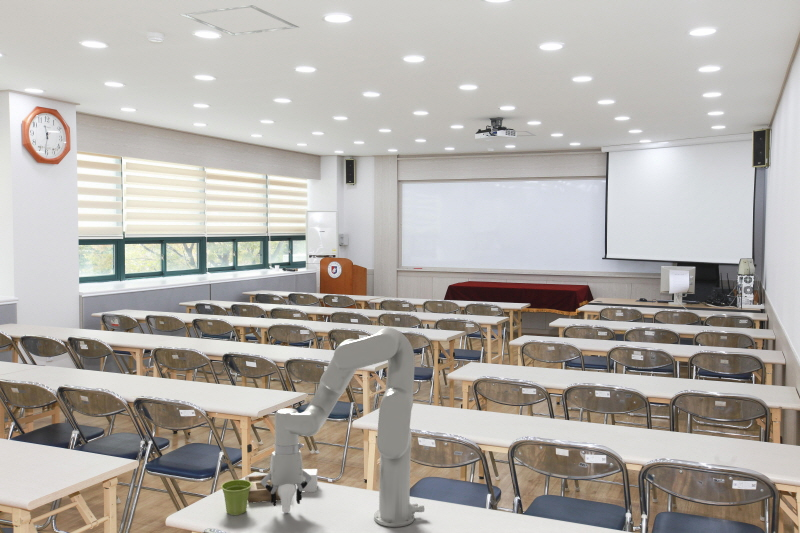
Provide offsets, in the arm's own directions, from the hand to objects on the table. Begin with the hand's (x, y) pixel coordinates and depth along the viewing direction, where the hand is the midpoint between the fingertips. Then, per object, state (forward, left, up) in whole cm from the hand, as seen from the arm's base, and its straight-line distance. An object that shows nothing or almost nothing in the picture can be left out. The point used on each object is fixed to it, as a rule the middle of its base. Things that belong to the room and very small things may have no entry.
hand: (286, 503), depth 215 cm
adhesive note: (-10, -19, -4) cm, 22 cm away
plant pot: (+15, -5, -4) cm, 16 cm away
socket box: (+4, -18, -3) cm, 19 cm away
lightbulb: (0, 0, -3) cm, 3 cm away
